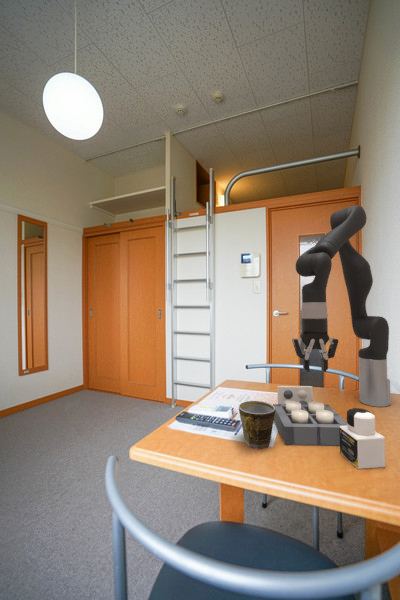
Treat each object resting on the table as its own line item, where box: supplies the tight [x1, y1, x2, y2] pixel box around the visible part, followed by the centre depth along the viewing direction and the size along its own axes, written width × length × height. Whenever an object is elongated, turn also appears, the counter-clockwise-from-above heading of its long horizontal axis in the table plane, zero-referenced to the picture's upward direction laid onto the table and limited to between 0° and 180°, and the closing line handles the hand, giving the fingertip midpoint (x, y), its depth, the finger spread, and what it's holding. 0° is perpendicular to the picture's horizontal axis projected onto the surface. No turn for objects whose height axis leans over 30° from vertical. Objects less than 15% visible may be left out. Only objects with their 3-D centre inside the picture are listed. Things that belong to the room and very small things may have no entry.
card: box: [277, 385, 314, 404], centre depth 98 cm, size 12×1×9 cm, turn 86°
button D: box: [291, 409, 308, 424], centre depth 80 cm, size 5×5×3 cm
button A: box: [308, 400, 325, 414], centre depth 87 cm, size 5×5×3 cm
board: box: [272, 403, 347, 447], centre depth 83 cm, size 18×17×5 cm
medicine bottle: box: [339, 407, 387, 470], centre depth 68 cm, size 7×7×12 cm
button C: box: [286, 401, 301, 414], centre depth 87 cm, size 5×5×3 cm
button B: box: [316, 410, 334, 424], centre depth 80 cm, size 5×5×3 cm
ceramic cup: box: [238, 400, 275, 450], centre depth 76 cm, size 13×10×10 cm
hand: (315, 370), depth 87 cm, fingers open, 4 cm apart
